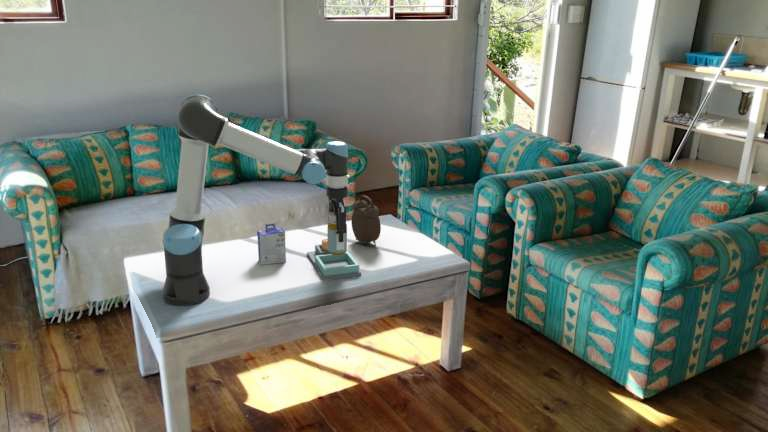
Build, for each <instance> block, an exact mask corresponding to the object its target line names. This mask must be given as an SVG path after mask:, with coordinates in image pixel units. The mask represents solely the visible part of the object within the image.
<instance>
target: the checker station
mask: <svg viewBox="0 0 768 432" xmlns="http://www.w3.org/2000/svg"><path fill="white" fill-rule="evenodd" d="M306 256H307V257H308V259H309V260H310V262H311V263H312V265H313V266H314V268H315V269H316V271H317V272H318V273H319V275H320V277H321V278H322V280H323V281H328V280H336V279H343V278H350V277H358V276H359V277H360V276H362V272H361V270H360V264H359V263H358V262H357V260H356V259H355V258H354V257H353V256H352V254H351V253H350V252H349V251H346V253H345V254H343V255H332V254H330V253H329V252H328V251H322V243H320V244H314V251H307V252H306Z"/></svg>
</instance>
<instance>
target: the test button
mask: <svg viewBox="0 0 768 432" xmlns="http://www.w3.org/2000/svg"><path fill="white" fill-rule="evenodd" d="M321 244H322V251H328V238H324V239H321Z"/></svg>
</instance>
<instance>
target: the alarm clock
mask: <svg viewBox="0 0 768 432" xmlns="http://www.w3.org/2000/svg"><path fill="white" fill-rule="evenodd" d="M363 198H365V199H366V200H367V201H369V204H368V203H367V201H366V200H363ZM379 213H380V212H379V208H378V206H376V205H374V203H373V200H372V199H371V198H370V197H369V196H367V195H364V194H363V195H361V196H360V197H357V201H356V200H355V202H354V203H353V212H352V215H351V229H352V232H353V235H354V237H355V240H356V241H357V242H359V243H361V244H364V245H365V247H368V243H371V242H372V243H373V244H374V247H376V246H377V245H376V241H377V240H378V239H379V238H380V236H381V230H382V227H381V220H380V217H379Z"/></svg>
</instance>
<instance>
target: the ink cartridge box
mask: <svg viewBox="0 0 768 432" xmlns="http://www.w3.org/2000/svg"><path fill="white" fill-rule="evenodd" d="M264 225H265V229H264V230H263V229H262V230H257V231H256V233H257V236H256V237H257V248H258V249H257V252H258V255H257V256H258V263H259V264H260V266H264V265H265V266H266V265H271V264H280V263H286V261H287V258H286V257H287V256H286V231H285V230H284V228H283V227H278V228H276V224H275V223H265V224H264Z"/></svg>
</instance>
